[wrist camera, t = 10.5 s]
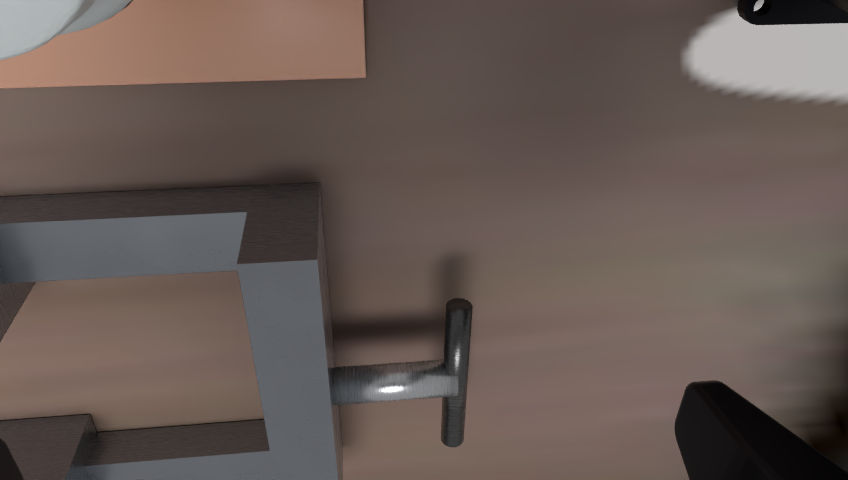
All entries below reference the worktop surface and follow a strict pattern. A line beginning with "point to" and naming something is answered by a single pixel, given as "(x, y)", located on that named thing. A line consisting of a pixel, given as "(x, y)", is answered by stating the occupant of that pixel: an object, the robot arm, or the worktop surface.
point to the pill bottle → (48, 21)
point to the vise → (266, 318)
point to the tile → (201, 45)
